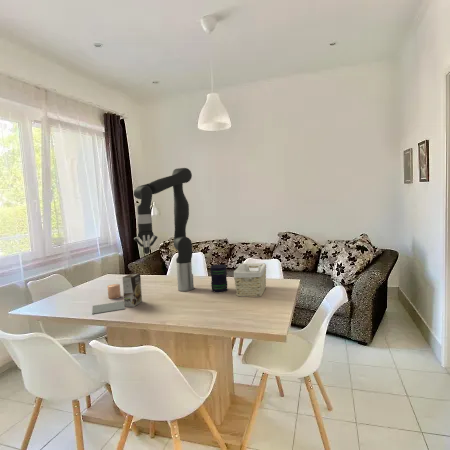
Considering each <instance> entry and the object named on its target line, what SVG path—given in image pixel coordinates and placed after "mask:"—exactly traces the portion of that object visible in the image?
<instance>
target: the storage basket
mask: <svg viewBox="0 0 450 450" xmlns="http://www.w3.org/2000/svg"><path fill="white" fill-rule="evenodd" d="M253 268H254V269H258V270H250V269H253ZM266 274H267V264H266V263H255V262H254V263H251V262H250V263H249V262H247V263H245V262H244V263H240V264H239V266H238V267H237V268H236V269H234V271H233V279H234V286H235V291H236V292H235V293H236V296H237V297H248V298H249V297H251V298H254V297H255V298H258V297H259V298H260V297H262V296H263V293H264V292H265V289H266V287H267V285H266V284H267V275H266Z"/></svg>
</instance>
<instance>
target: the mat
mask: <svg viewBox="0 0 450 450" xmlns="http://www.w3.org/2000/svg"><path fill="white" fill-rule="evenodd" d="M123 310H126V306H124V300H122V301H115V302H108V303H102V304H96V305H92V309H91V311H92V312H91V313H92V314H91V315H95V314H96V315H97V314H102V313H109V312H110V313H111V312H115V311H123Z"/></svg>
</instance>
